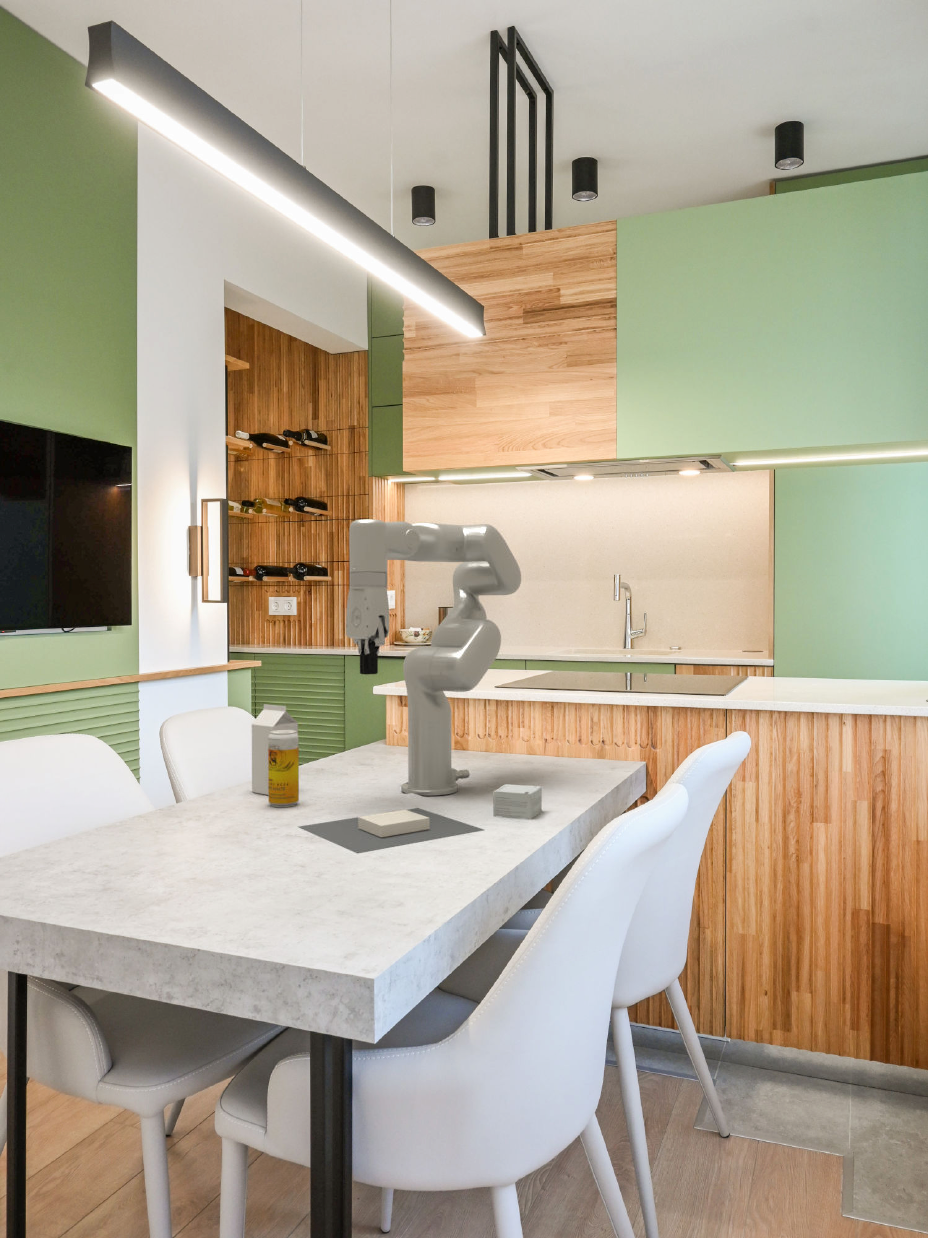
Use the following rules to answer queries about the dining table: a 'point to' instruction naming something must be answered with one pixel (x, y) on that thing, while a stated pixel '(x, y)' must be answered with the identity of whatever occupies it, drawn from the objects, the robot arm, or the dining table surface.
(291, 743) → the beer can
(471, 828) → the mat
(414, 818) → the tile
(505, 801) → the small box
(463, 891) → the dining table surface
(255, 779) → the milk carton
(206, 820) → the dining table surface
